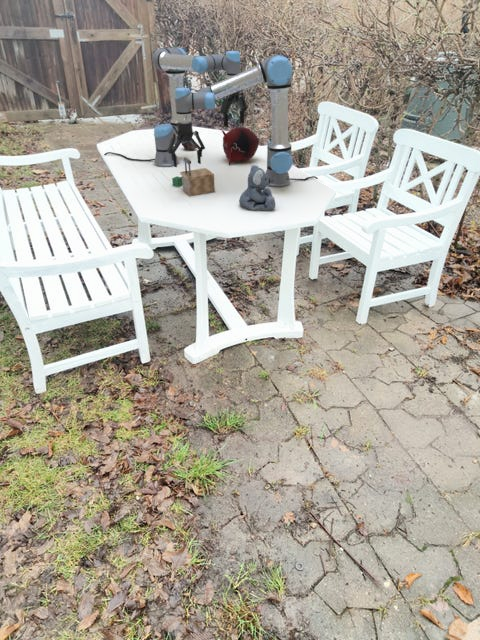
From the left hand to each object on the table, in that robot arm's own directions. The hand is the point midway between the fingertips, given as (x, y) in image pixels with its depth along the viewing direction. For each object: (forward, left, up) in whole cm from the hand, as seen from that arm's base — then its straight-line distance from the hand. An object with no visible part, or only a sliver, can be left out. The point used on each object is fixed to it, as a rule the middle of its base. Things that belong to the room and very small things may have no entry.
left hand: (234, 125), depth 259 cm
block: (-10, -38, -28) cm, 48 cm away
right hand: (+5, -42, -13) cm, 44 cm away
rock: (-65, +21, -28) cm, 74 cm away
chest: (+7, -36, -28) cm, 46 cm away
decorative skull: (-18, +25, -28) cm, 42 cm away
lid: (+6, -37, -19) cm, 42 cm away
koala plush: (+46, -33, -28) cm, 63 cm away
